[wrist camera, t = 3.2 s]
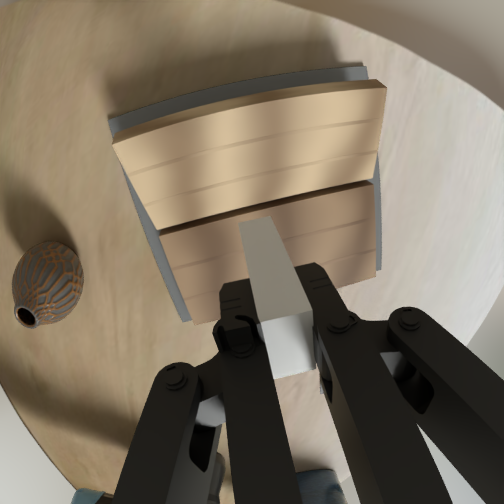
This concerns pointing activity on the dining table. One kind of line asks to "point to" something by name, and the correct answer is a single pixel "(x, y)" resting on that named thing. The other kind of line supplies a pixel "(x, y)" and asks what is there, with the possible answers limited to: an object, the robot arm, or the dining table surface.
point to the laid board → (291, 233)
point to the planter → (320, 487)
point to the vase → (46, 284)
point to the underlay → (219, 95)
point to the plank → (253, 149)
